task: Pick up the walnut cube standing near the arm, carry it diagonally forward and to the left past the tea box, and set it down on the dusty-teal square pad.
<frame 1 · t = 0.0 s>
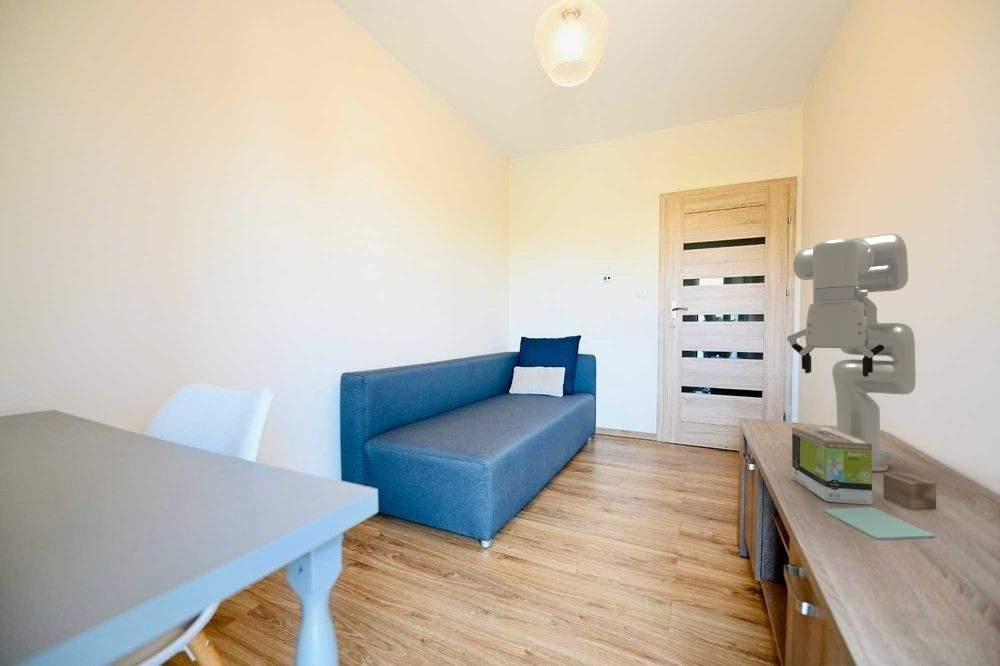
hand: (835, 374, 85), 31 cm above the table, tool pointing down, fingers open, 9 cm apart
tea box: (829, 492, 97), on the table
teal pad: (874, 523, 81), on the table
walnut cube: (909, 504, 90), on the table
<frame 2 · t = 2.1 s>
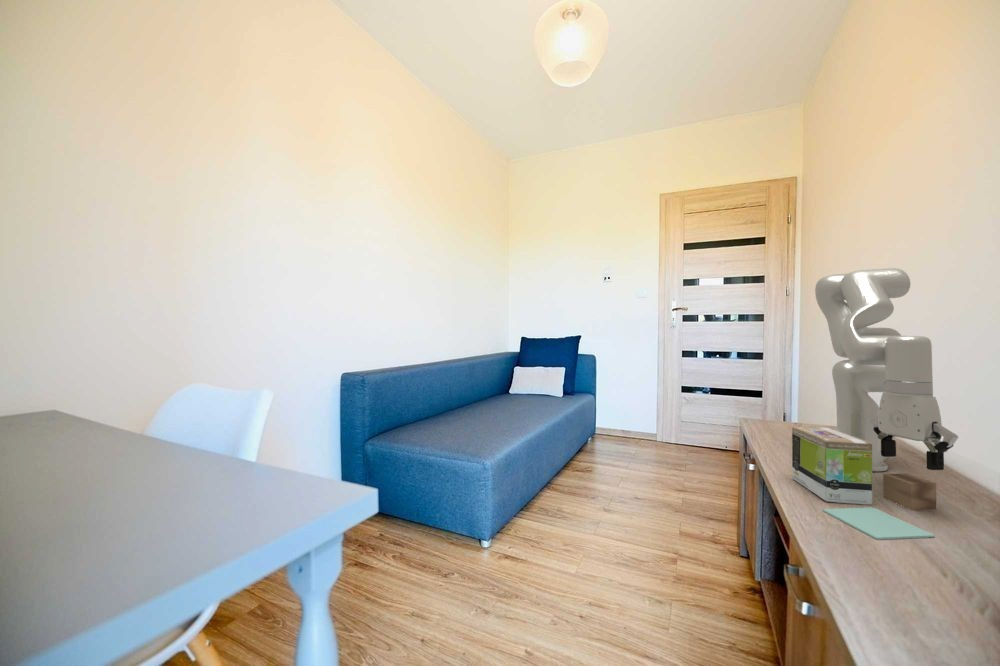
hand: (910, 462, 89), 10 cm above the table, tool pointing down, fingers open, 9 cm apart
nothing on the table moved.
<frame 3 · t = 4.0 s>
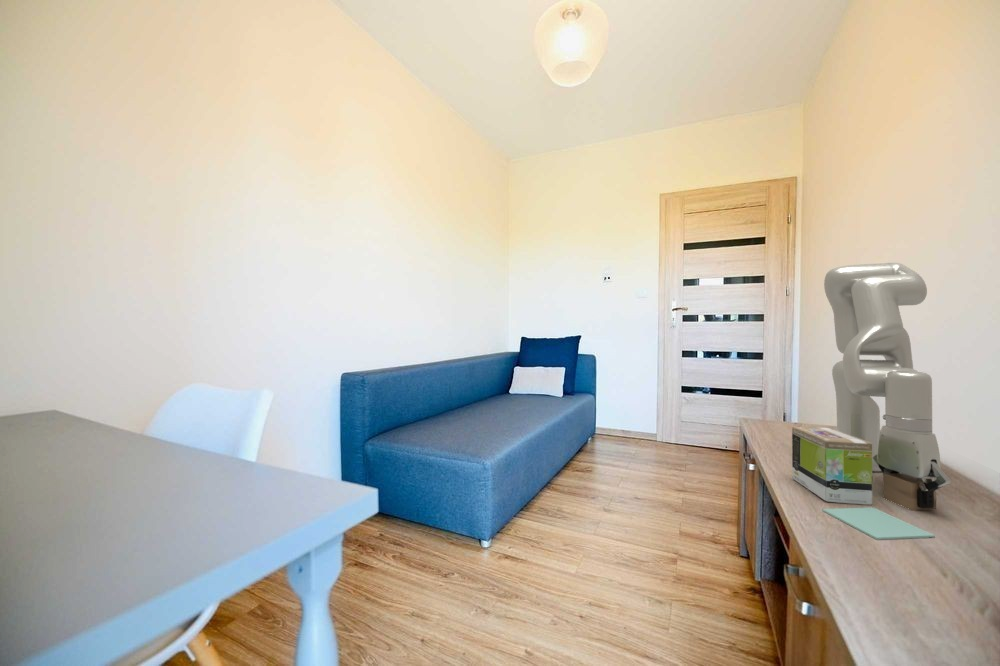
hand: (908, 500, 90), 1 cm above the table, tool pointing down, fingers closed on walnut cube, 6 cm apart
walnut cube: (908, 503, 90), on the table, touching gripper
everything else where it was.
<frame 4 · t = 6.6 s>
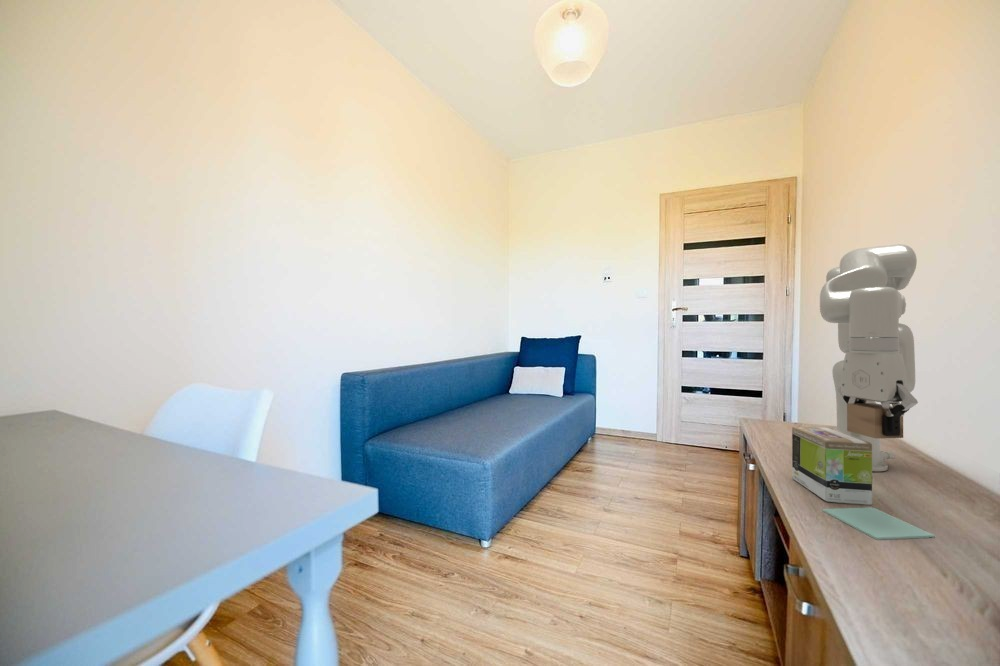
hand: (874, 430, 81), 20 cm above the table, tool pointing down, fingers closed on walnut cube, 6 cm apart
walnut cube: (874, 434, 81), point 19 cm above the table, touching gripper
everything else where it was.
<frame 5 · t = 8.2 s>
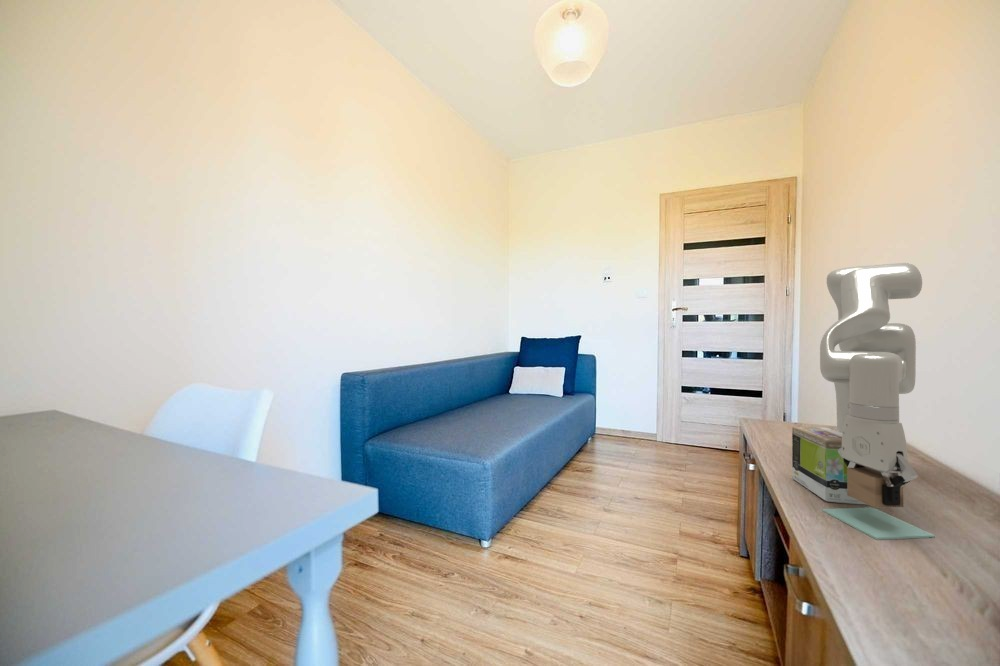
hand: (874, 497, 81), 6 cm above the table, tool pointing down, fingers closed on walnut cube, 6 cm apart
walnut cube: (874, 500, 81), point 5 cm above the table, touching gripper
everything else where it was.
when the fingers open (2 cm above the table, at t = 9.6 s): walnut cube drops 1 cm, resting on teal pad.
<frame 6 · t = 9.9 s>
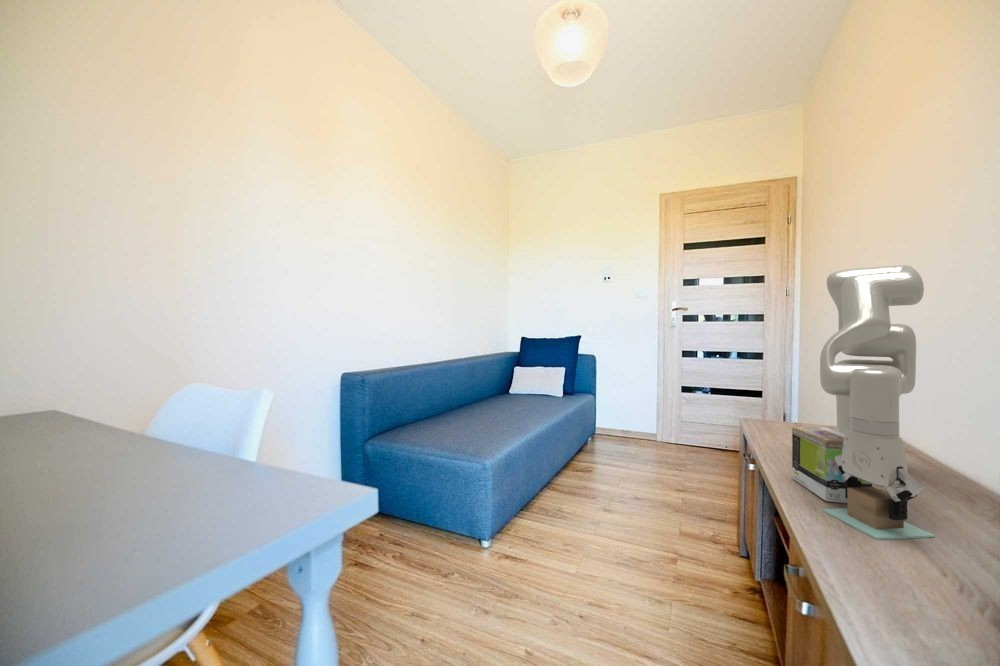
hand: (874, 508, 81), 3 cm above the table, tool pointing down, fingers open, 8 cm apart
walnut cube: (874, 521, 81), resting on teal pad
everything else where it was.
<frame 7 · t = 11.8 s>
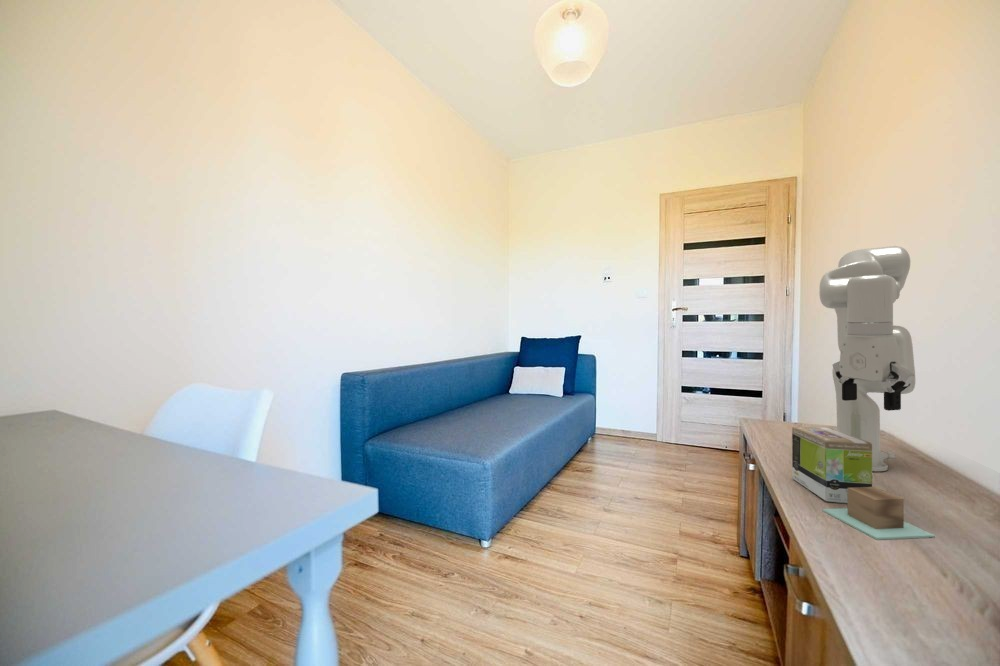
hand: (869, 404, 88), 24 cm above the table, tool pointing down, fingers open, 9 cm apart
nothing on the table moved.
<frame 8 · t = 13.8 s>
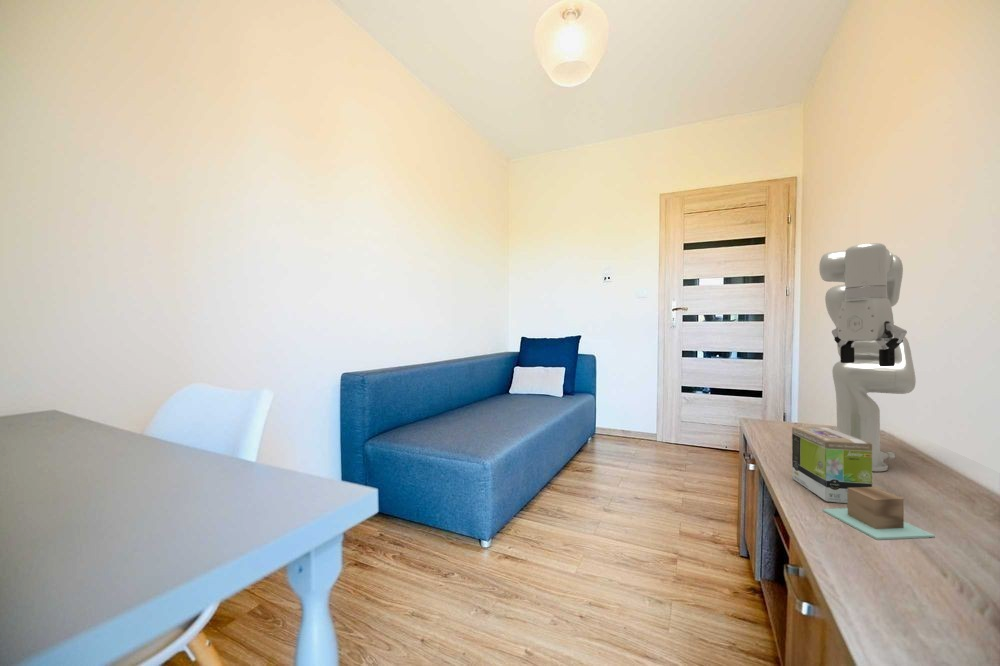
hand: (866, 364, 94), 32 cm above the table, tool pointing down, fingers open, 9 cm apart
nothing on the table moved.
at the end: walnut cube inside the target area on the teal pad (0.0 cm from its centre), point 0.4 cm above the teal pad's base; walnut cube tilted 0°; the gripper is holding nothing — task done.
